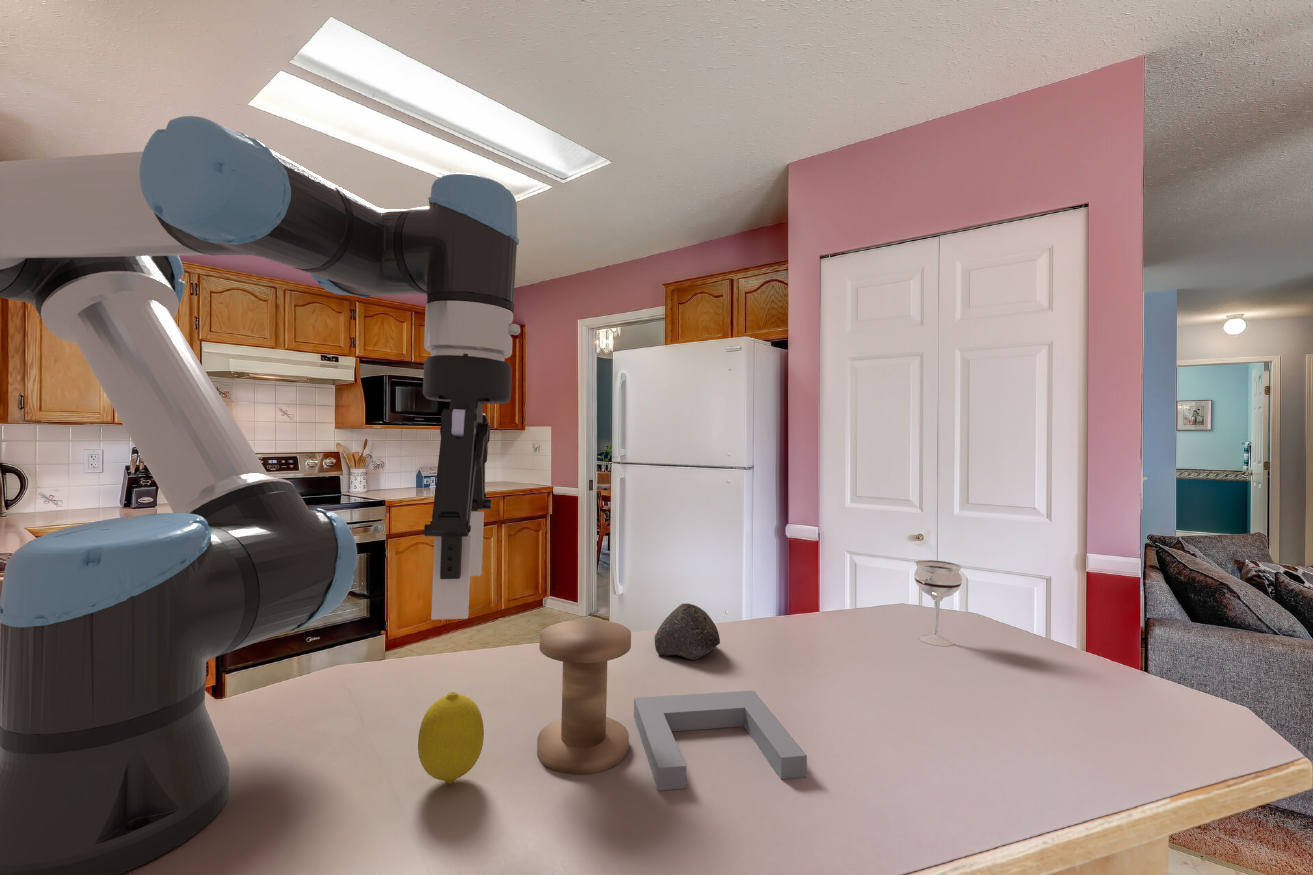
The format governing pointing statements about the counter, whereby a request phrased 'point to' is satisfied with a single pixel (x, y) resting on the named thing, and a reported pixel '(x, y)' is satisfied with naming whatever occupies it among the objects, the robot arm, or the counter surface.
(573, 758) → the bobbin
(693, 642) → the stone
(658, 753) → the notch board
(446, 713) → the lemon
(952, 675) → the counter surface
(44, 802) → the robot arm
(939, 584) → the wineglass
